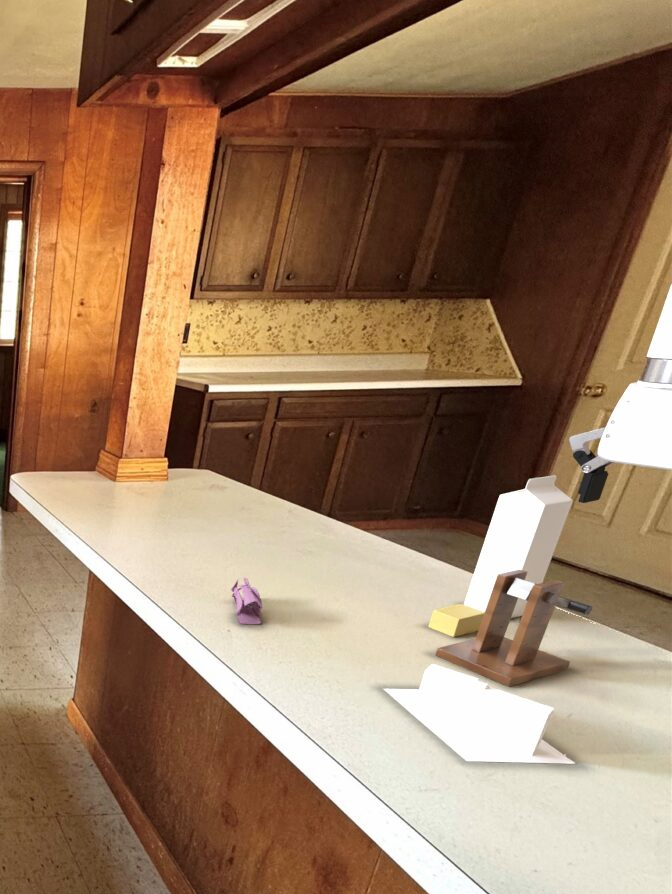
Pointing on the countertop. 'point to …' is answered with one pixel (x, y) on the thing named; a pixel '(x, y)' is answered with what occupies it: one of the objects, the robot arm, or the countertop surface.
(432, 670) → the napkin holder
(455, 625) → the butter
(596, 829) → the countertop surface
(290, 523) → the countertop surface
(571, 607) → the lever
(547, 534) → the milk
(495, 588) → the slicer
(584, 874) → the countertop surface
